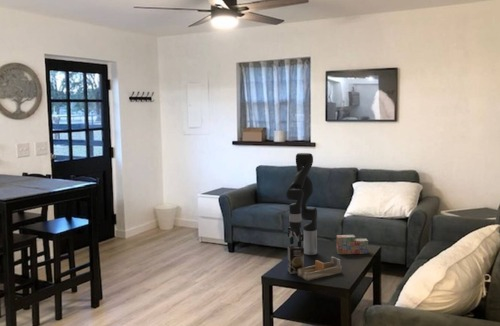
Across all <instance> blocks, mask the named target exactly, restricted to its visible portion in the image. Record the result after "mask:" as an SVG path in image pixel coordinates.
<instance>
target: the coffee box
mask: <svg viewBox="0 0 500 326" xmlns="http://www.w3.org/2000/svg"><path fill="white" fill-rule="evenodd" d="M304 267H305V254H304V248H303V245H301V247H298V245H290V246H287V271H288V273H289V274H290V275H292V274H298V269H300V268H304Z"/></svg>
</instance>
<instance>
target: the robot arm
mask: <svg viewBox="0 0 500 326" xmlns="http://www.w3.org/2000/svg"><path fill="white" fill-rule="evenodd" d="M313 163H314V156H313V154H312V153H310V152H299V153H297V154H295V165H296V171H297V173H296V174H295V175H294V177H293V180H292V183H291V184H290V186H289V187H288V189H287V190H286V194H285V196H286V198H287V199H288V200H289V201H296V202H294V203H290V204H289V206H288V207H289V215H288V216H289V218H288V220H289V222H288V224H289V225H288V226H289V227H287V237H288V238H289V244H290V245H293V244H294V240H295V239H296V240H297V246H298V247H301V246H302V247H303V248H304V255H307V256H314V255H317V254H318V232H317V231H318V227H317V226H318V223H317V222H318V221H317V220H318V209H317V207H314V206H313V207H312V206H307V203H308V202H309V199H310V198H311V197H312V194H313V193H314V189H313V188H314V186H313V182H312V180H311V179H310V177H309V176H308V174H309V172H310V171H311V169H312V166H313ZM303 220H304V221H311V222H309V223H306V224H305V225H303V231H302V230H301V228H302V221H303ZM294 237H295V239H294Z"/></svg>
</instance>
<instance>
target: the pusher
mask: <svg viewBox="0 0 500 326" xmlns="http://www.w3.org/2000/svg"><path fill="white" fill-rule="evenodd" d="M324 263H325V262H322V261H320V260H318V259H316V260H314V265H315V271H319V270H323V269H324Z"/></svg>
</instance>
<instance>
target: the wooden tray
mask: <svg viewBox="0 0 500 326" xmlns="http://www.w3.org/2000/svg"><path fill="white" fill-rule="evenodd" d="M323 263H324V269H323V270H319V271H315V264H313V265H310V266H304V268H300V269H298V273H297V276H298V277H299V278H302V280H303V279H304V280H305V281H308V282H309V281H312V280H317V279H321V278H325V277H330V276H333V275H337V274H342V273H343V271H342V270H343V266H342V265H341V259H340V258H338V257H334V256H330V261H328V262H323Z"/></svg>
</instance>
